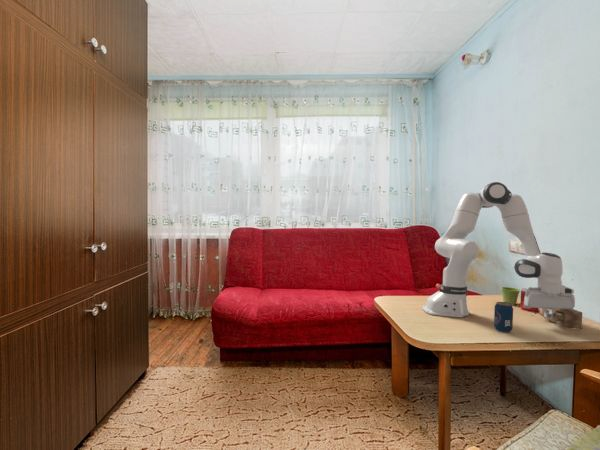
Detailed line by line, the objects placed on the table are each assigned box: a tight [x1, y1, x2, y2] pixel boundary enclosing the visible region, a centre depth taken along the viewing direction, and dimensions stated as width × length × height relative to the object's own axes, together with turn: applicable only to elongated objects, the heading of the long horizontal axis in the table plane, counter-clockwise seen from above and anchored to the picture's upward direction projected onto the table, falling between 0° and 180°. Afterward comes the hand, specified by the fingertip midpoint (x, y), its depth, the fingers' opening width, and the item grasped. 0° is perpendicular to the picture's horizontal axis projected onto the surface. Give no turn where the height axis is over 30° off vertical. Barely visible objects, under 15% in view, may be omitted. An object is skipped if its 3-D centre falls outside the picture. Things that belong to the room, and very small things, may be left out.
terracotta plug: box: [539, 308, 551, 318], centre depth 151 cm, size 8×4×4 cm, turn 85°
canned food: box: [519, 287, 540, 313], centre depth 168 cm, size 8×8×11 cm
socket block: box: [543, 308, 583, 330], centre depth 148 cm, size 7×14×8 cm, turn 175°
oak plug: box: [550, 312, 564, 323], centre depth 144 cm, size 8×4×4 cm, turn 85°
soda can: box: [493, 301, 514, 333], centre depth 138 cm, size 7×7×12 cm
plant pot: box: [500, 286, 521, 306], centre depth 179 cm, size 9×9×9 cm
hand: (548, 317), depth 145 cm, fingers closed
